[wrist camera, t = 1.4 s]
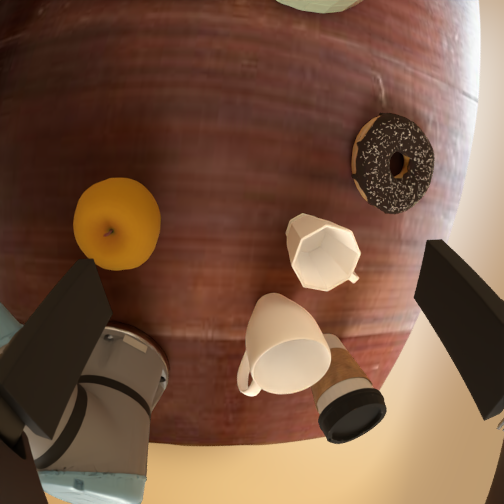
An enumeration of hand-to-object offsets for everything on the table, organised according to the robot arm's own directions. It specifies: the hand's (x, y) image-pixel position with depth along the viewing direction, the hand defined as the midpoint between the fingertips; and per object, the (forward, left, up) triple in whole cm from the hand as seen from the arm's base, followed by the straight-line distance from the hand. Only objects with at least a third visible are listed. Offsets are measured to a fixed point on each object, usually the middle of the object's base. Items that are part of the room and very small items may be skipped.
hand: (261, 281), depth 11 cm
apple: (-11, +4, -23) cm, 25 cm away
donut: (+16, -10, -23) cm, 30 cm away
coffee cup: (-5, -28, -23) cm, 36 cm away
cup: (+3, -12, -23) cm, 26 cm away
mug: (-8, -17, -23) cm, 29 cm away
